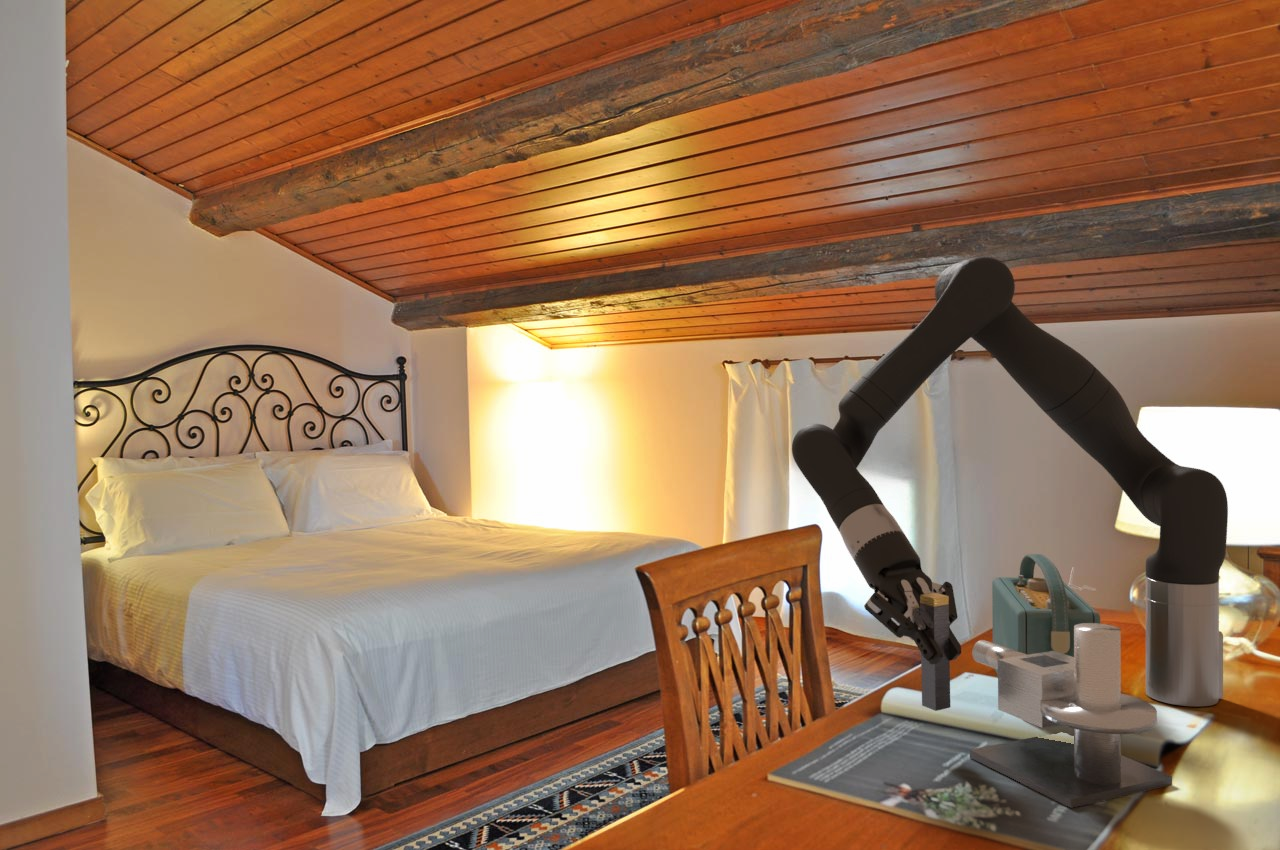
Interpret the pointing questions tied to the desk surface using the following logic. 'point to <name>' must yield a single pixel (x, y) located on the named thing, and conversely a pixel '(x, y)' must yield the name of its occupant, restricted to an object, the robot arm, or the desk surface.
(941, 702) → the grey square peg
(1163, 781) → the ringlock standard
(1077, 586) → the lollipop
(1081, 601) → the radio
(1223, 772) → the desk surface
